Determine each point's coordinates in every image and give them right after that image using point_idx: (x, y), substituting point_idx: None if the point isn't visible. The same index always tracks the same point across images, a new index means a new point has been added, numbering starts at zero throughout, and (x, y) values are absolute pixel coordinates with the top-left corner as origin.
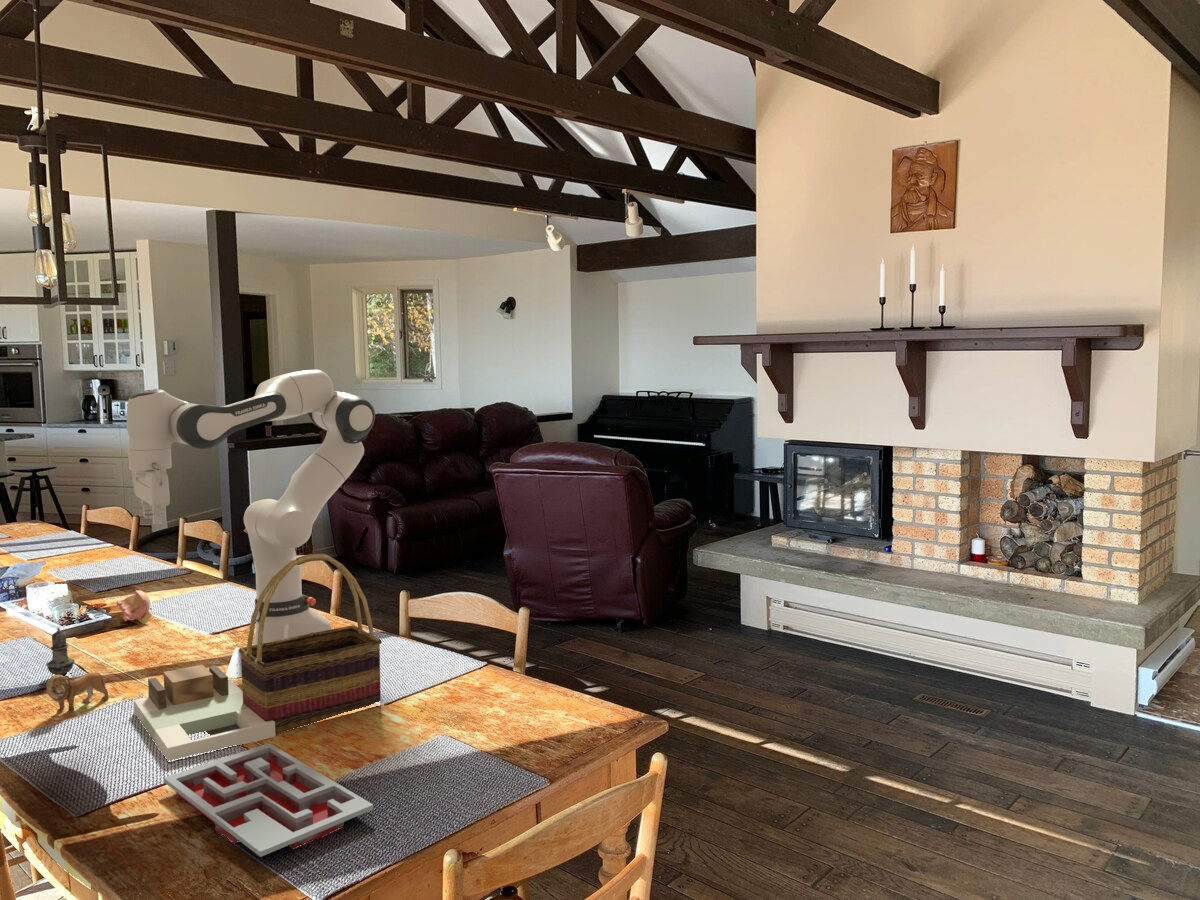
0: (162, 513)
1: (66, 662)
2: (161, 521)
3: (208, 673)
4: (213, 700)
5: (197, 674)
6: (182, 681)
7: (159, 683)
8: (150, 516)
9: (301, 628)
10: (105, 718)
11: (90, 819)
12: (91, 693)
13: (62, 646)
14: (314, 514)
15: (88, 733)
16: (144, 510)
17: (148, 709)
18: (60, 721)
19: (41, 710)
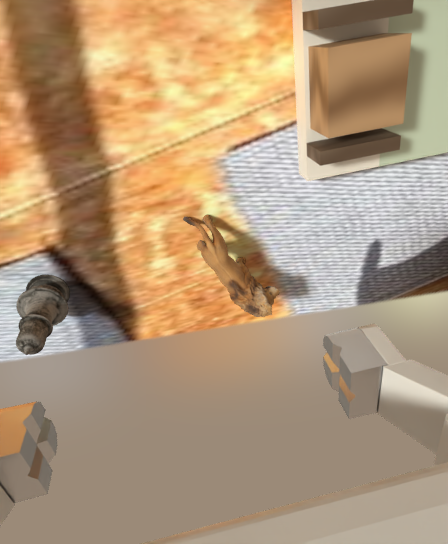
0: (444, 377)
1: (54, 299)
2: (381, 336)
3: (398, 41)
4: None
5: (389, 67)
6: (404, 103)
7: (361, 145)
8: (43, 420)
9: None
10: (294, 213)
11: None
12: (204, 243)
13: (45, 323)
14: None
15: (340, 231)
16: (11, 502)
17: (368, 157)
18: (270, 269)
19: (210, 296)
